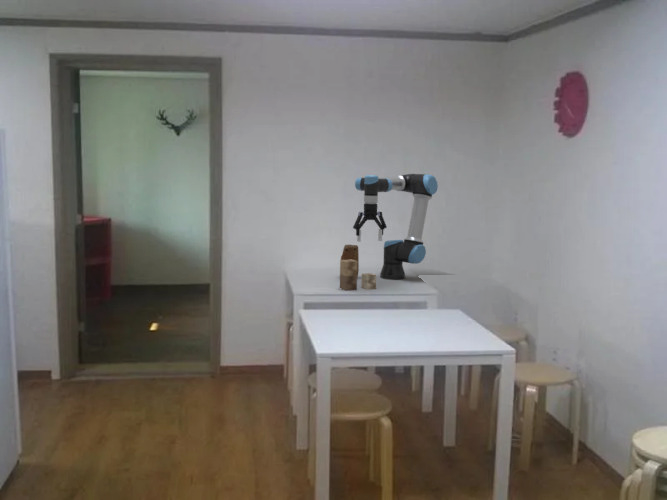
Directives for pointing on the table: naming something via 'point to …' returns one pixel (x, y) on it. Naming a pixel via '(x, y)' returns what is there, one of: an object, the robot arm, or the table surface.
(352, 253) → the block
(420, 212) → the robot arm
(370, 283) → the maple block
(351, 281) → the walnut block
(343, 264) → the oak block
